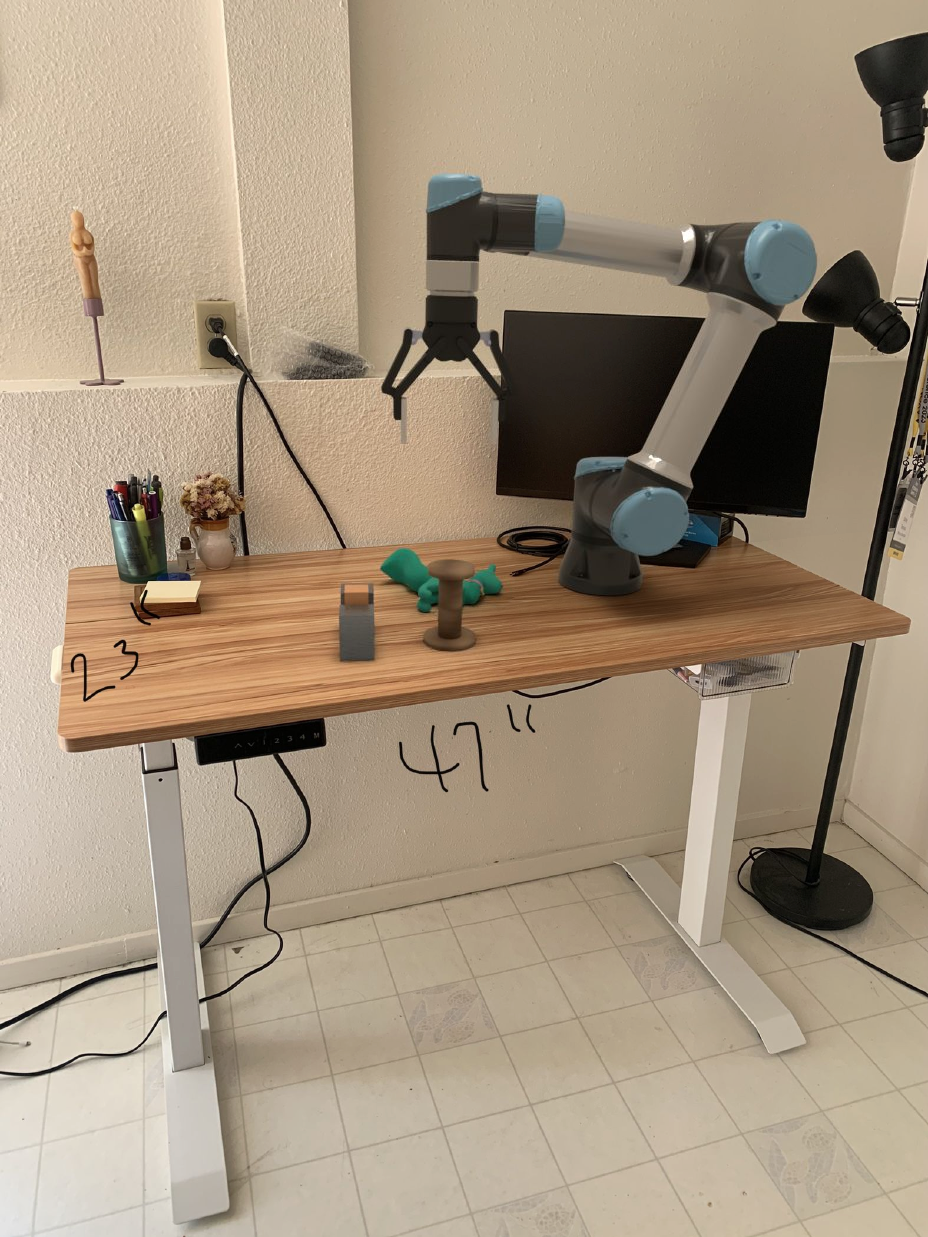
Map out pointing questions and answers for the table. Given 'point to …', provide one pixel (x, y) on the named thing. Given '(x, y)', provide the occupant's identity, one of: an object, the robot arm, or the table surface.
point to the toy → (435, 579)
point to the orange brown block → (356, 594)
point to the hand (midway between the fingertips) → (448, 442)
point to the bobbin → (450, 606)
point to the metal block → (357, 628)
